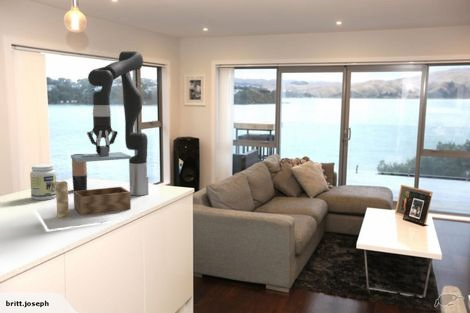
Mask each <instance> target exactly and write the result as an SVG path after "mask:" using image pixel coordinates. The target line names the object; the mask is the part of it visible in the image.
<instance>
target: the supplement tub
mask: <svg viewBox="0 0 470 313" xmlns="http://www.w3.org/2000/svg"><path fill="white" fill-rule="evenodd" d="M29 176H30V177H29V178H30V180H29V181H30V196H31V199H32V200H35V201H46V200H51V199H53V200H54V199H55V198H56V182H57V173H56V170H55V165H54V164H51V163H42V164H40V163H39V164H33V165H31V171H30V174H29Z"/></svg>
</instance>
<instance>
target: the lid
mask: <svg viewBox="0 0 470 313" xmlns="http://www.w3.org/2000/svg"><path fill="white" fill-rule="evenodd" d="M81 154H82V155H73V154H70V159H71V160H72V159H74V160H75V161H77V162H86V163H87V162H102V161H116V160H117V161H118V160H129V159H131V157H132V156H131V155H130V154H127V153H124V152H122V151H120V152H119V151H118V152H116V151H115V152H110V151H109V147H106V146H105V145H100V154H98V153H97V152H96V153H81Z"/></svg>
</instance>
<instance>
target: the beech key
mask: <svg viewBox="0 0 470 313" xmlns="http://www.w3.org/2000/svg"><path fill="white" fill-rule="evenodd" d="M68 185H69V184H68V181H66V180H65V181H64V180H63V181H56V197H55V198H56V201H55V202H56V217H57V219H66V218H67V219H68V218H70V215H69V214H70V212H69V211H70V210H69V209H70V208H69V190H68V189H69V188H68V187H69V186H68Z"/></svg>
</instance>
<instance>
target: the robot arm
mask: <svg viewBox="0 0 470 313" xmlns="http://www.w3.org/2000/svg"><path fill="white" fill-rule="evenodd" d="M143 63H144V58H143V55H142V54H141V52H138V51H134V50H133V51H127V50H126V51H121V52H119V55H118V61H115V62H111V63H109V64H108V65H105V66H102V67H98V68H94V69H92V70H91V71H90V72H89V73H88V76H87V80H88V83H89V84H90V85H91V86H94V87H101V89H100V90H98V91H95V92H93V94H92V100H93V101H92V102H93V103H92V104H93V105H92V106H93V107H92V119H93V126H92V130H90V131H87V132H86V135H87V136H88V139H89V141H90V143H91V144H92V145H94V146H95V152H96V154H97V153H98V154H100V146H101V145H100V144H101V140H102V138H103V139H104V142H105V144H104V146H106V147H109V152H110V148H111V147H110V145H112V144H114V143H115V141H116V138H117V136H118V133H119V132H118V131H116V130H113V128H112V123H111V122H112V121H111V120H112V118H111V116H112V114H111V104H110V102H111V101H110V95H111V91H112V88H113V83H114V81H115V80H116V79H118V78H119V77H120V78H121V86H122V100H123V102H122V103H123V111H124V123H125V125H124V127H125V130H124V132H125V134H124V138H125V140H124V141H125V142H124V143H125V148H126V149H128V150H129V151H130V150H131V151H138V152H137V154H135V155H133V156H131V159H128V173H129V174H128V175H129V192H130V196H146V195H149V176H148V170H147V169H148V166H147V164H148V162H147V161H148V159H147V158H148V144H149V142H148V135H147V134H146V133H144V132H135V130H134V128H135V123H136V121H137V119H138V117H139V116H140V114H141V111H142V109H143V105H142V104H143V102H142V101H143V100H142V94H141V92H140V91H139V89H138V87H137V86H136V85H135V84H134V81H133V80H132V76H131V72H133V71H138V70H141V68H142V67H143V65H144V64H143ZM93 135H95V139H94V137H93ZM110 135H111V137H110Z"/></svg>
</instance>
